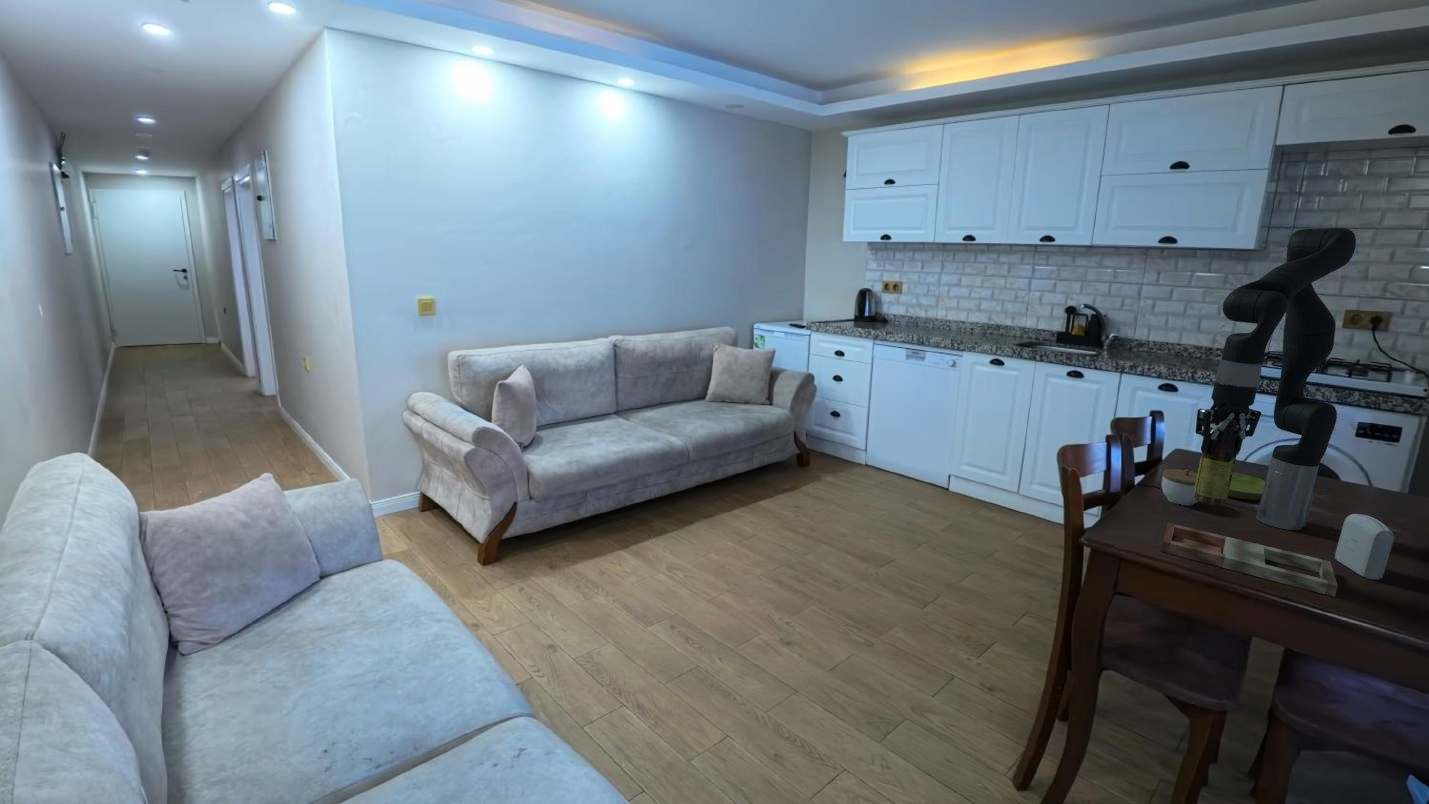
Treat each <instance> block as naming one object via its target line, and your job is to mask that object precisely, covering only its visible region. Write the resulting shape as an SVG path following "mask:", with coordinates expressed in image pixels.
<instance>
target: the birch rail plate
mask: <svg viewBox="0 0 1429 804" xmlns="http://www.w3.org/2000/svg"><path fill="white" fill-rule="evenodd" d="M1160 552H1162V553H1166V554H1169V555H1174V556H1177V557H1181V558H1184V559H1188V560H1191V561H1192V560H1193V561H1197V562H1199V563H1204V564H1208V565H1211V566H1215V567H1218V568H1219V567H1220V568H1224V569H1226V570H1230V571H1234V572H1238V573H1243V574H1246V575H1250V576H1252V577H1253V576H1254V577H1257V578H1260V579H1265V580H1269V581H1273V582H1277V583H1280V584H1284V585H1288V586H1291V587H1295V588H1298V589H1303V590H1306V591H1311V592H1315V593H1318V594H1321V595H1322V594H1323V595H1325V594H1326V595H1325V596H1330V597H1333V598H1334V597H1336V594H1337V590H1338V588H1339V587H1338V583H1337V580H1336V579H1337V578H1336V575H1335V573H1334V572H1335V571H1334V569H1333V566H1332V563H1331V561H1330V560H1326V559H1321V558H1319V557H1313V556H1310V555H1305V554H1301V553H1297V552H1293V551H1289V550H1283V549H1280V548H1276V547H1271V546H1268V545H1267V546H1266V545H1263V544H1259V543H1256V542H1250V541H1246V540H1243V539H1239V538H1233V537H1229V536H1226V535H1221V534H1219V533H1218V534H1217V533H1213V532H1209V531H1205V530H1200V529H1196V528H1192V527H1188V526H1183V525H1181V524H1180V525H1179V524H1176V523H1171V522H1167V525H1166V528H1165V533H1164V536H1163V540H1162V545H1161V551H1160ZM1266 560H1267V561H1270V562H1275V563H1279V564H1283V565H1286V566H1289V567H1295V568H1299V569H1302V570H1307V571H1310V572H1313V573H1318V574H1319V577H1318V576H1313V575H1309V574H1306V573H1305V574H1304V573H1302V572H1297V571H1293V570H1289V569H1285V568H1282V567H1278V566H1273V565H1270V564H1266Z"/></svg>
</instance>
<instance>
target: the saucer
mask: <svg viewBox="0 0 1429 804" xmlns="http://www.w3.org/2000/svg"><path fill="white" fill-rule="evenodd" d="M1198 469H1199V468H1198ZM1198 469H1197V468H1196V469H1193V470H1190V472H1194V473H1198ZM1265 481H1266V480H1264V479H1261V478H1258V477H1255V476H1251V475H1248V474H1244V473H1240V472H1235V471H1233V474H1232V480H1231V484H1230V489H1229V493H1228V498H1235V499H1238V498H1239V499H1238V500H1246V499H1248V500H1247V501H1249V500H1250V501H1260V500H1261V497H1262V493H1263V489H1264V485H1265Z"/></svg>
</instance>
